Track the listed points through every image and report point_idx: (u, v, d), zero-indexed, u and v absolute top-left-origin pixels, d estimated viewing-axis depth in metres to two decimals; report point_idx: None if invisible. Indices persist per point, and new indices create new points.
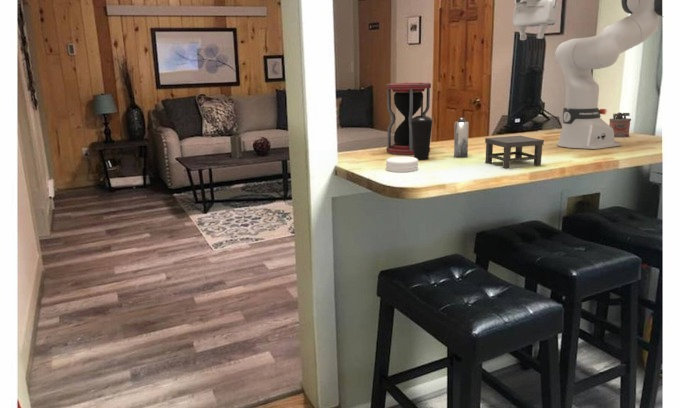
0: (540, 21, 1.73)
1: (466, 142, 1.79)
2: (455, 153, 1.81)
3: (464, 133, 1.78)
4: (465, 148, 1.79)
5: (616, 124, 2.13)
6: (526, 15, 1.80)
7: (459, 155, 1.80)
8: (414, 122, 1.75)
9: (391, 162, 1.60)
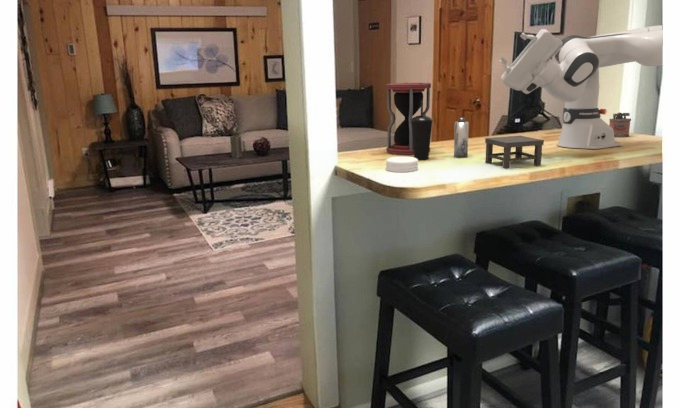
0: None
1: (466, 142, 1.79)
2: (455, 153, 1.81)
3: (464, 133, 1.78)
4: (465, 148, 1.79)
5: (616, 124, 2.13)
6: None
7: (459, 155, 1.80)
8: (414, 122, 1.75)
9: (391, 162, 1.60)
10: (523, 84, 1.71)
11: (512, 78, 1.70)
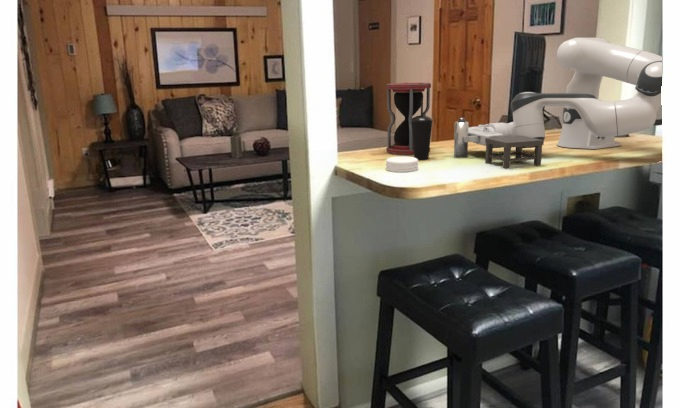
0: (482, 134, 1.75)
1: (466, 142, 1.79)
2: (455, 153, 1.81)
3: (464, 132, 1.77)
4: (465, 148, 1.79)
5: None
6: (476, 131, 1.83)
7: (459, 155, 1.80)
8: (414, 122, 1.75)
9: (391, 162, 1.60)
10: None
11: None
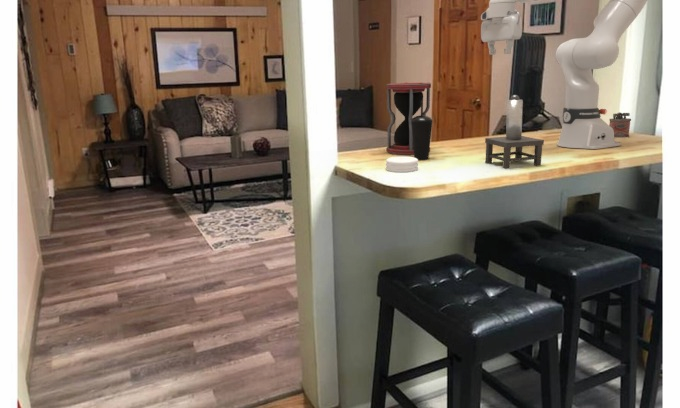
0: (506, 38, 1.77)
1: (521, 122, 1.61)
2: (508, 135, 1.63)
3: (519, 111, 1.60)
4: (520, 129, 1.62)
5: (616, 124, 2.13)
6: (493, 31, 1.83)
7: (513, 137, 1.62)
8: (414, 122, 1.75)
9: (391, 162, 1.60)
10: None
11: None
